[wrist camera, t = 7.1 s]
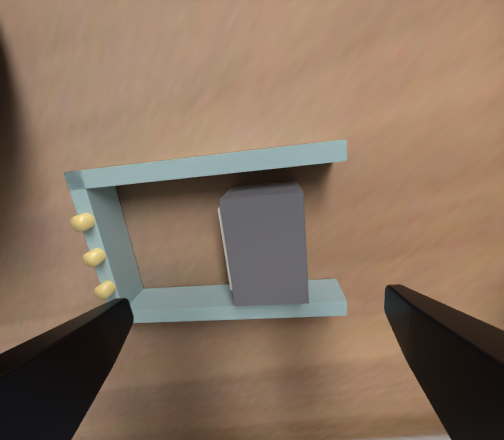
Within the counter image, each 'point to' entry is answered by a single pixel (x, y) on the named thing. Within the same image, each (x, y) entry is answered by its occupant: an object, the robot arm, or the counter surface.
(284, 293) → the plug block
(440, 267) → the counter surface
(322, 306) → the u-shaped coat rack
